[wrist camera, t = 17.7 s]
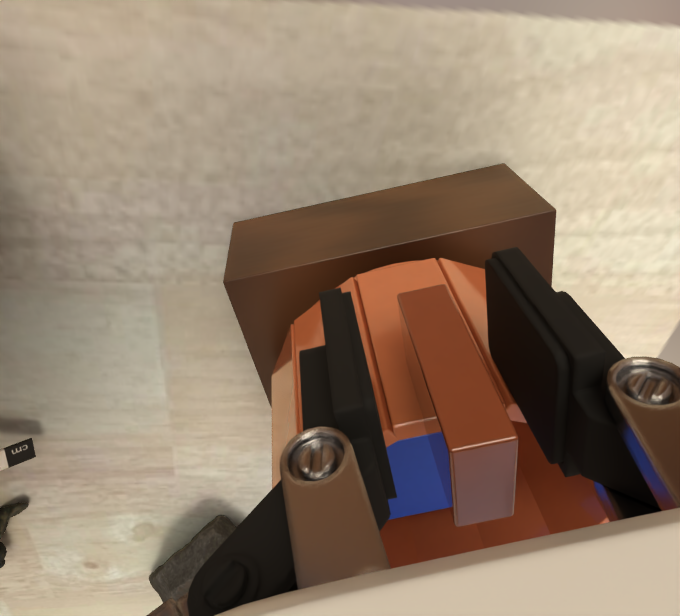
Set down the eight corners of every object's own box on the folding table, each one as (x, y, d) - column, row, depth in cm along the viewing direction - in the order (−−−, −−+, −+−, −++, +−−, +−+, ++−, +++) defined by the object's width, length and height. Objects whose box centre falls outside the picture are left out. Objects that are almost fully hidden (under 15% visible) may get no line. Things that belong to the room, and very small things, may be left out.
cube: (362, 422, 22) (381, 522, 18) (344, 347, 19) (361, 447, 15) (466, 401, 21) (505, 497, 18) (463, 322, 19) (508, 417, 15)
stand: (291, 393, 28) (293, 467, 24) (233, 222, 22) (222, 282, 18) (504, 348, 28) (543, 415, 24) (504, 162, 22) (556, 209, 18)
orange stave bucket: (308, 464, 24) (325, 712, 17) (218, 230, 16) (174, 508, 9) (529, 418, 24) (648, 650, 16) (550, 157, 16) (804, 379, 8)
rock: (202, 595, 41) (308, 586, 37) (166, 673, 36) (283, 673, 32) (127, 505, 37) (236, 485, 33) (75, 580, 32) (195, 566, 28)
